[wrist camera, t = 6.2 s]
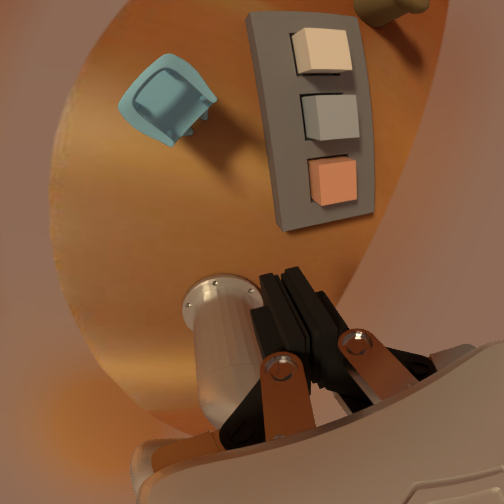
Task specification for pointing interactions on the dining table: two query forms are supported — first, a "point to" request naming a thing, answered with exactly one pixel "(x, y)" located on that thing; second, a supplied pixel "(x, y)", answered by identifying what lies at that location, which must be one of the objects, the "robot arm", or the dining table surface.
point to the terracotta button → (332, 179)
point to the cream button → (321, 51)
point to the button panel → (292, 115)
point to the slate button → (331, 116)
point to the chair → (167, 100)
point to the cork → (387, 10)
